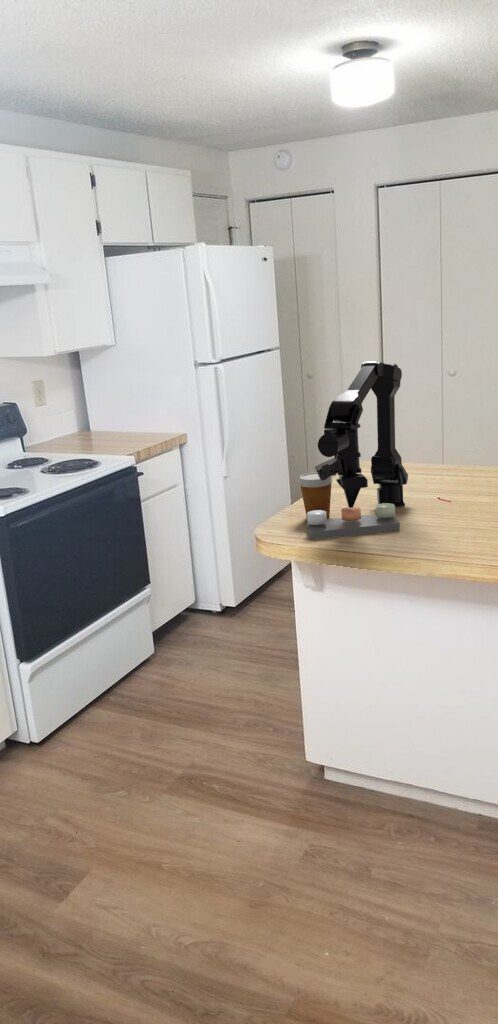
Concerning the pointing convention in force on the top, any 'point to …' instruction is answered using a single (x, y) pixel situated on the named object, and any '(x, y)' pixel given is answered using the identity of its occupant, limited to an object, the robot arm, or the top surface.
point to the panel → (352, 527)
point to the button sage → (385, 510)
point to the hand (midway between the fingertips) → (350, 507)
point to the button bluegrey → (316, 517)
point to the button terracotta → (351, 514)
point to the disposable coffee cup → (315, 492)
